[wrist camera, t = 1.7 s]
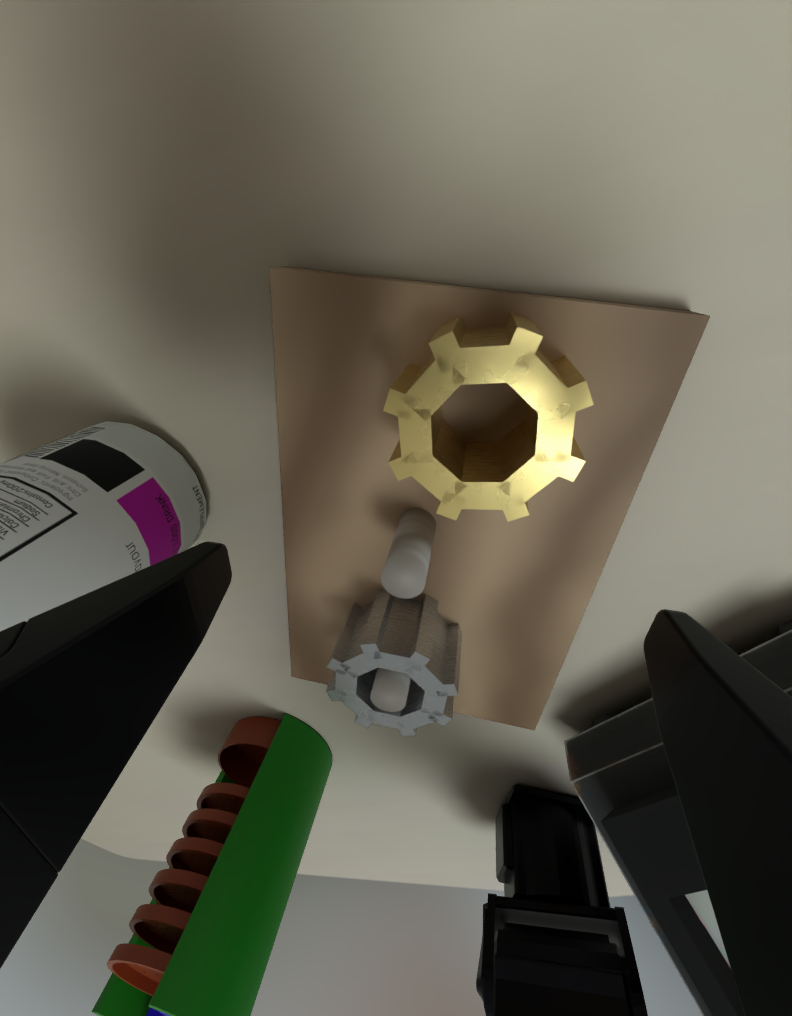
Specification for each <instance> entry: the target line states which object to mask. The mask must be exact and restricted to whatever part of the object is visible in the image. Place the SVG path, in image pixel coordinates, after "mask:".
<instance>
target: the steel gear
mask: <svg viewBox="0 0 792 1016" xmlns="http://www.w3.org/2000/svg"><path fill="white" fill-rule="evenodd" d="M438 602H439V601H438V600H436V599H434V598H432V597H430V596H428V595H425V596H424V597H423V598H422V600H417V599H411V598H408V599H404V598H398V597H395V596H393V595H391V594H390V593H389V592H387V591H386V589H378V592H377V595H376V598H375V601H373V602H371V603H369V604H367V605H365V606H363V607H361V606H359V605H358V604H356V603H354V604H353V605H352V607H351V608H350V610H349V611H348V614H347V616H346V619H345V621H344V624H343V626H342V629H341V631H340V634H339V636H338V639H337V641H336V644H335V647H334V649H333V652H332V654H331V657H330V659H329V662H328V664H327V667H328V668H330V669H332V670H333V674H332V677H331V679H330V682H329V685H328V687H327V690H326V691H327V693H328V695H329V697H330V699H331V701H342V702H343V703H344V704H345V705H346V706H347V707H348V708H350V709H351V710H352V711H353V712H354V713H355V714H356V715H357V716H356V720H355V722H357V723H359V724H361V725H363V726H365V727H367V728H368V727H369V726H370V725H371V724H377V725H381V726H385V727H390V728H394V729H399V731H400V733H401V736H416V731H417V728H418V727H421V726H424V725H427V724H430V723H433V722H436V723H438V724H440V725H442V726H445V725H446V724H447V723H448V722H449V721H450V720H452V715H453V702H454V696H456V695H458V690H459V675H460V660H461V645H462V632H461V628H460V625H459V623H458V624H449V623H448V622H447V621H446V620H445V619H444V618H443V617H442V616H441V615H440V613H439V612H438V611H437V609H438ZM378 668H383V669H388V670H392V671H397V672H402V673H406V674H408V675H409V676H410V677H411V679H410V685H409V690H408V696H407V701H406V706H405V707H404V708H403V709H402V710H400V711H397V712H388V711H384V710H381V709H379V708H378V707H376V706H375V705H374V704H373V703H372V701H371V699H370V695H371V691H372V687H373V684H374V680H375V676H376V672H377V669H378Z"/></svg>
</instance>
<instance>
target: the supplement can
mask: <svg viewBox="0 0 792 1016" xmlns="http://www.w3.org/2000/svg"><path fill="white" fill-rule="evenodd" d="M205 524H206V499H205V496H204V494H203V491H202V489H201V486H200V483H199V481H198V478H197V476H196V473H195V472H194V471H193V469H192V468H191V467H190V465H189V464H188V463H187V461H186V460H185V459H184V457H183V456H182V455H181V454H180V453H179V452H177V451H176V450H175V449H174V448H173V447H171V446H170V445H169V444H168V443H166V442H165V441H164V440H163V439H161V438H159V437H158V436H157V435H154V434H152V433H150V432H148V431H146V430H143V429H141V428H139V427H137V426H135V425H132V424H127V423H118V422H109V421H106V422H102V423H99V424H96V425H93V426H90V427H87V428H84V429H82V430H80V431H77V432H75V433H72V434H70V435H68V436H65V437H63V438H60V439H58V440H56V441H53V442H51V443H49V444H46V445H44V446H41V447H39V448H37V449H34V450H32V451H29V452H27V453H25V454H22V455H20V456H17V457H15V458H13V459H10V460H8V461H5V462H3V463H1V464H0V631H2V630H5V629H7V628H9V627H11V626H14V625H16V624H18V623H20V622H23V621H26V622H27V621H28V620H29V619H30V618H32V617H34V616H37V615H39V614H41V613H44V612H46V611H48V610H50V609H53V608H55V607H57V606H60V605H62V604H64V603H66V602H69V601H71V600H73V599H76V598H78V597H80V596H82V595H85V594H87V593H89V592H92V591H94V590H96V589H98V588H101V587H103V586H105V585H108V584H110V583H112V582H114V581H117V580H119V579H121V578H124V577H126V576H128V575H130V574H133V573H135V572H137V571H140V570H142V569H144V568H146V567H149V566H151V565H153V564H156V563H158V562H160V561H162V560H165V559H167V558H169V557H172V556H174V555H176V554H178V553H181V552H183V551H185V550H187V549H188V548H189V547H190V546H191V545H192V544H193V543H194V542H195V541H196V540H197V539H198V538H199V537H200V535H201V532H202V530H203V528H204V526H205Z"/></svg>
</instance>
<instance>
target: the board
mask: <svg viewBox="0 0 792 1016" xmlns="http://www.w3.org/2000/svg"><path fill="white" fill-rule="evenodd" d="M269 268H270V287H271V305H272V324H273V342H274V361H275V379H276V398H277V416H278V435H279V454H280V472H281V491H282V509H283V528H284V546H285V565H286V583H287V602H288V621H289V639H290V658H291V676H292V677H296V678H300V679H305V680H309V681H314V682H318V683H323V684H327V685H329V682H330V679H331V677H332V674H333V670H332V669H330V668H328V667H327V664H328V662H329V659H330V657H331V654H332V652H333V649H334V647H335V644H336V641H337V639H338V636H339V634H340V631H341V629H342V626H343V624H344V621H345V619H346V616H347V614H348V611H349V610H350V608H351V607H352V605H353V604H354V603H356V604H358V605H359V606H361V607H363V606H365V605H367V604H369V603H371V602H373V601H375V598H376V595H377V592H378V589H386V591H387V592H389V593H390V594H391V595H393V596H395V597H398V598H404V599H408V598H411V599H417V600H422V598H423V597H424V596H425V595H428V596H430V597H432V598H434V599H436V600H438V601H439V602H438V609H437V611H438V612H439V613H440V615H441V616H442V617H443V618H444V619H445V620H446V621H447V622H448V623H449V624H458V623H459V625H460V628H461V632H462V645H461V660H460V675H459V690H458V695H456V696H454V702H453V712H454V713H459V714H463V715H468V716H472V717H477V718H481V719H486V720H490V721H495V722H499V723H504V724H508V725H513V726H517V727H522V728H526V729H531V730H535V728H536V726H537V723H538V721H539V719H540V716H541V714H542V712H543V709H544V707H545V705H546V702H547V700H548V697H549V695H550V693H551V690H552V688H553V686H554V683H555V681H556V679H557V676H558V674H559V672H560V669H561V667H562V664H563V662H564V660H565V657H566V655H567V653H568V650H569V648H570V646H571V643H572V641H573V639H574V636H575V634H576V631H577V629H578V627H579V624H580V622H581V620H582V617H583V615H584V613H585V610H586V608H587V606H588V603H589V601H590V598H591V596H592V594H593V591H594V589H595V587H596V584H597V582H598V580H599V577H600V575H601V572H602V570H603V568H604V565H605V563H606V561H607V558H608V556H609V554H610V551H611V549H612V547H613V544H614V542H615V539H616V537H617V535H618V532H619V530H620V528H621V525H622V523H623V521H624V518H625V516H626V514H627V511H628V509H629V506H630V504H631V502H632V499H633V497H634V495H635V492H636V490H637V488H638V485H639V483H640V481H641V478H642V476H643V473H644V471H645V469H646V466H647V464H648V462H649V459H650V457H651V455H652V452H653V450H654V448H655V445H656V443H657V440H658V438H659V436H660V433H661V431H662V429H663V426H664V424H665V422H666V419H667V417H668V414H669V412H670V410H671V407H672V405H673V403H674V400H675V398H676V396H677V393H678V391H679V389H680V386H681V384H682V381H683V379H684V377H685V374H686V372H687V370H688V367H689V365H690V363H691V360H692V358H693V356H694V353H695V351H696V348H697V346H698V344H699V341H700V339H701V337H702V334H703V332H704V330H705V327H706V325H707V323H708V320H709V318H710V316H708V315H704V314H700V313H696V312H692V311H683V310H674V309H665V308H656V307H647V306H638V305H629V304H620V303H611V302H602V301H593V300H583V299H574V298H565V297H556V296H547V295H538V294H529V293H520V292H511V291H502V290H493V289H484V288H475V287H466V286H456V285H447V284H438V283H429V282H420V281H411V280H402V279H393V278H384V277H375V276H366V275H357V274H348V273H338V272H329V271H320V270H311V269H302V268H293V267H269ZM510 313H514V314H517V315H519V316H522V317H525V318H528V319H530V320H532V321H533V323H534V324H535V326H536V327H537V328H538V330H539V331H540V332H541V334H542V335H543V338H542V340H541V342H540V345H539V347H538V349H539V350H540V351H541V352H542V353H543V354H544V355H545V356H546V357H547V358H548V359H549V360H550V361H554V360H556V359H558V358H560V357H563V356H565V355H566V357H567V358H568V359H569V360H570V361H571V363H572V364H573V365H574V366H575V368H576V369H577V370H578V371H579V372H580V374H581V375H582V376H583V377H584V379H585V380H586V382H587V385H588V388H589V391H590V394H591V398H592V401H593V404H594V405H592V406H589V407H587V408H584V409H582V410H579V411H576V414H575V422H574V430H573V436H574V438H575V440H576V442H577V444H578V446H579V448H580V450H581V452H582V454H583V456H584V459H585V461H586V462H585V464H584V465H583V467H582V468H581V470H580V472H579V473H578V475H577V476H576V478H575V480H574V481H570V480H567V479H565V478H562V477H559V476H558V477H557V478H555V479H554V480H553V481H552V482H550V483H549V484H548V485H546V486H545V487H544V488H543V489H541V490H540V491H539V492H538V493H536V494H535V495H534V496H532V497H531V498H530V499H529V500H527V502H528V508H529V514H530V515H528V516H525V517H522V518H519V519H515V520H512V521H509V522H508V521H507V519H506V516H505V514H504V512H503V510H477V509H461V512H460V514H459V516H458V518H457V520H453V519H450V518H447V517H445V516H442V515H439V514H437V513H436V511H437V506H438V501H439V499H437V498H436V497H435V496H434V495H433V494H432V493H430V492H429V491H428V490H427V489H426V488H425V487H424V486H422V485H421V484H420V483H419V482H418V481H417V480H415V479H414V478H413V477H412V476H410V477H408V478H405V479H402V480H400V481H398V480H397V478H396V476H395V474H394V472H393V470H392V469H391V467H390V465H389V463H388V462H389V460H390V458H391V455H392V453H393V451H394V449H395V447H396V445H397V443H398V441H399V439H400V435H399V423H398V416H395V415H393V414H390V413H387V412H384V411H383V409H384V406H385V403H386V400H387V396H388V393H389V390H390V388H391V386H392V385H393V384H394V382H395V381H396V380H397V378H398V377H399V376H400V374H401V373H402V372H403V371H404V369H405V368H406V367H407V365H408V364H409V363H410V364H412V365H415V366H418V367H420V368H422V367H423V366H424V364H425V363H426V362H427V361H428V360H429V359H430V357H431V356H432V355H433V353H432V350H431V348H430V346H429V344H428V343H429V342H430V340H431V339H432V337H433V336H434V335H435V333H436V332H437V330H438V329H439V327H440V326H442V325H444V324H445V323H447V322H449V321H451V320H453V319H455V318H457V317H459V316H460V318H461V320H462V322H463V325H464V327H465V330H468V329H484V328H499V327H505V325H506V323H507V321H508V318H509V316H510ZM526 409H527V402H526V401H525V400H524V399H523V398H522V397H521V396H520V395H519V394H518V393H517V392H516V391H515V390H514V389H513V388H512V387H511V386H510V385H509V384H508V383H489V384H464V385H460V386H459V387H458V388H457V389H456V390H455V391H454V392H453V393H452V394H451V396H450V397H449V398H448V399H447V400H446V401H445V402H444V403H443V404H442V412H443V420H444V421H445V422H446V423H447V424H448V425H449V426H450V427H451V428H452V429H454V430H455V431H456V432H457V433H458V434H459V435H460V436H461V437H462V438H463V439H465V440H466V441H501V440H502V439H503V438H504V437H505V436H506V435H507V434H508V433H509V432H511V431H512V430H513V429H514V428H515V427H516V426H517V425H518V424H519V423H520V422H522V421H523V420H524V419H525V418H526ZM410 679H411V677H410V676H409V675H408V674H406V673H402V672H397V671H392V670H388V669H383V668H378V669H377V672H376V676H375V680H374V684H373V687H372V691H371V695H370V699H371V701H372V703H373V704H374V705H375V706H376V707H378V708H379V709H381V710H384V711H388V712H397V711H400V710H402V709H403V708H404V707H405V706H406V701H407V696H408V690H409V685H410Z"/></svg>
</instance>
